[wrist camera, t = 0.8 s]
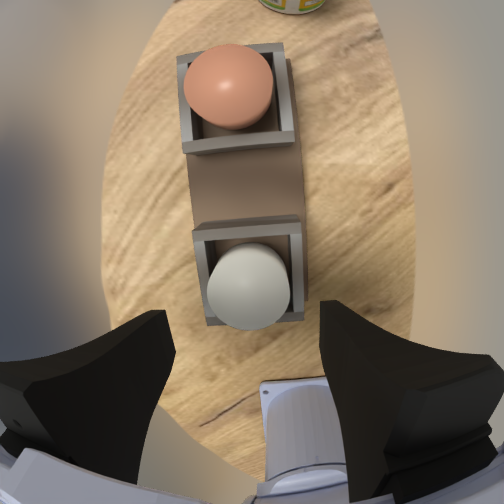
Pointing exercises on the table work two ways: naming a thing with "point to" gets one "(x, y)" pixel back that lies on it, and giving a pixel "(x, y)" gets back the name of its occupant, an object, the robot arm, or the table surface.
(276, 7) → the supplement bottle
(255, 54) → the tan rounded dome
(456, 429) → the robot arm
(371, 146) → the table surface
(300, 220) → the panel
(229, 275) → the white plunger
